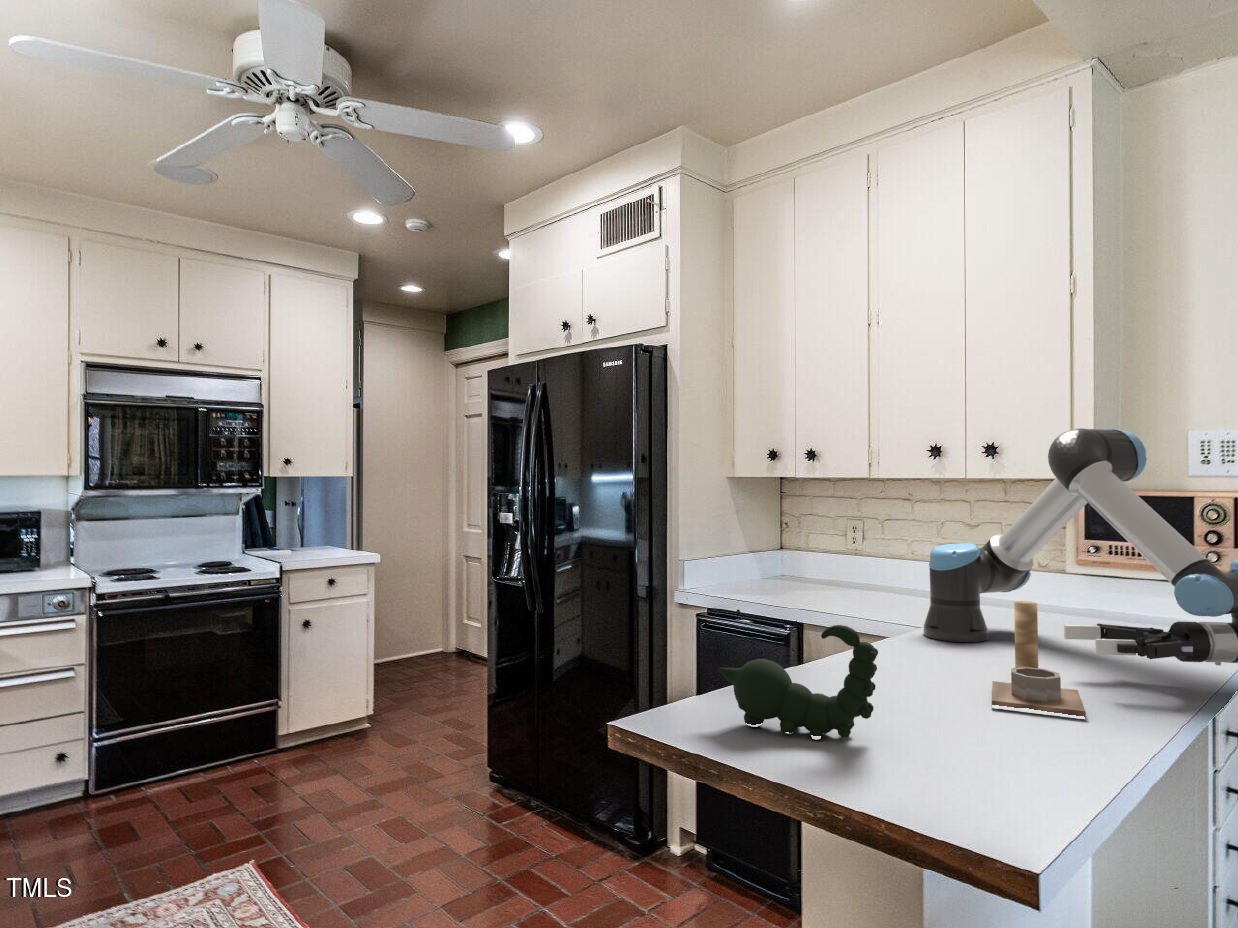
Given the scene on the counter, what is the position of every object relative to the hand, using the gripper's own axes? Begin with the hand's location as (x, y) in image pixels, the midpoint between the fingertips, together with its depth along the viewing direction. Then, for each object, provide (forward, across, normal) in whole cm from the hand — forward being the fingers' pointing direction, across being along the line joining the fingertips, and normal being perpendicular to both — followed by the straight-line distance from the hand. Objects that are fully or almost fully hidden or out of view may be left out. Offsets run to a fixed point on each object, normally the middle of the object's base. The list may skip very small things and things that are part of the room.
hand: (1079, 638), depth 146 cm
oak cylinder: (+10, 0, -9) cm, 13 cm away
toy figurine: (+57, -35, -9) cm, 67 cm away
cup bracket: (+13, -14, -9) cm, 21 cm away
